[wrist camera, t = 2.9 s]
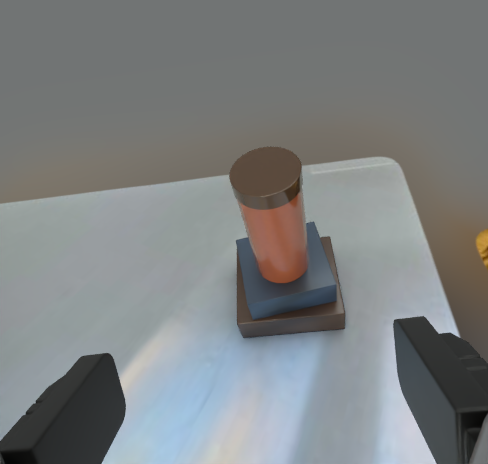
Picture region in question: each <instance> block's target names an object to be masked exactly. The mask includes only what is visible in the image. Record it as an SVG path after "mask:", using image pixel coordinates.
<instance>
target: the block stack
mask: <svg viewBox="0 0 488 464" xmlns="http://www.w3.org/2000/svg"><path fill="white" fill-rule="evenodd" d="M306 228H307V238H308V247H309V257H310V262H309V266H308V268H307V270H306V272H305V273H304V274H303V275H302V276H301V277H299V278H298V279H296V280H294V281H292V282H288V283H274V282H271V281H269V280H267V279H265V278H264V277H263V276H262V275H261V274H260V273H259V271H258V269H257V266H256V263H255V259H254V256H253V252H252V249H251V246H250V242H249V239H248V237H247V238H243V239H239V240H236V244H237V325H238V327H239V329H240V331H241V334H242V336H243V338H248V337H259V336H270V335H280V334H291V333H302V332H313V331H324V330H334V329H344V328H345V310H344V305H343V300H342V295H341V290H340V285H339V280H338V275H337V269H336V264H335V259H334V254H333V249H332V244H331V239H330V237H321V238H320V237H319V234H318V231H317V229H316V226H315V223H314V222H310V223H306Z"/></svg>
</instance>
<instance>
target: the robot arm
mask: <svg viewBox="0 0 488 464" xmlns="http://www.w3.org/2000/svg"><path fill="white" fill-rule="evenodd" d="M393 328H394V339H395V350H396V361H397V372H398V378H399V382H400V386H401V390H402V393H403V395H404V397H405V399H406V401H407V404H408V406H409V408H410V410H411V412H412V414H413V416H414V418H415V420H416V422H417V424H418V426H419V428H420V430H421V432H422V434H423V436H424V439H425V441H426V443H427V445H428V447H429V449H430V451H431V453H432V455H433V457H434V459H435V461H436V463H437V464H488V363H486V361H485V360H484V359H483V358H481V357H480V355H479V354H478V353H477V351H476V350H475V349H474V348H473V347H472V346H471V345H470V344H469V343H468V342H467V341H464V340H463V339H461V338H459V337H457V336H455V335H453V334H452V333H442V334H438V332H437V331H436V330H435V329H434V327H433V326H432V325H431V324H430V323H429V321H428V320H427V319H426V318H425V317H424V316H421V317H412V318H404V319H396V320H394V324H393ZM125 410H126V404H125V398H124V394H123V390H122V387H121V383H120V380H119V376H118V373H117V369H116V366H115V362H114V359H113V357H112V356H111V355H110V354H109V353H103V354H95V355H86V356H82V357H80V358H79V359H78V361H77V362H76V363H75V364H74V365H73V366H72V368H71V369H70V370H69V371H68V372H67V373H66V375H64V376H63V377H62V378H60V379H59V380H57V381H56V382H55V383H53V384H52V385H51V386H49V387H48V388H47V389H46V390H45V391H44V392H43V393H42V395H41V396H40V397H39V398H38V399H37V400H36V404H33V405H32V406H31V407H30V408H29V409H28V410H27V412H26V415H23V416H22V417H21V418H20V419H19V421H18V422H17V423H16V424H15V425H14V426H13V427H12V429H11V430H10V431H9V432H8V433H7V434H6V435H5V436H4V438H3V439H2V440H1V441H0V464H101V463H102V461H103V459H104V457H105V455H106V454H107V452H108V450H109V448H110V446H111V444H112V442H113V440H114V438H115V436H116V434H117V432H118V431H119V429H120V427H121V425H122V423H123V420H124V417H125Z"/></svg>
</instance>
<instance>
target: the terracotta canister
mask: <svg viewBox="0 0 488 464" xmlns="http://www.w3.org/2000/svg"><path fill="white" fill-rule="evenodd" d="M229 177H230V182H231V186H232V189H233V192H234V195H235V197H236V199H237V201H238V205H239V208H240V211H241V215H242V218H243V222H244V225H245V229H246V232H247V235H248V239H249V242H250V246H251V249H252V252H253V256H254V259H255V263H256V266H257V269H258V271H259V273H260V274H261V275H262V276H263V277H264V278H265V279H267V280H269V281H271V282H274V283H288V282H292V281H294V280H296V279H298V278H299V277H301V276H302V275H303V274H304V273H305V272H306V270H307V268H308V266H309V262H310V257H309V247H308V238H307V228H306V218H305V209H304V199H303V189H302V185H303V176H302V166H301V162H300V160H299V158H298V157H297V156H296V155H295V154H294V153H293V152H291V151H289V150H287V149H285V148H281V147H263V148H258V149H254V150H252V151H249V152H247V153H246V154H244V155H242V156H241V157H240V158H239V159H237V161H236V162H235V163H234V164H233V166H232V168H231V170H230V175H229Z"/></svg>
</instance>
